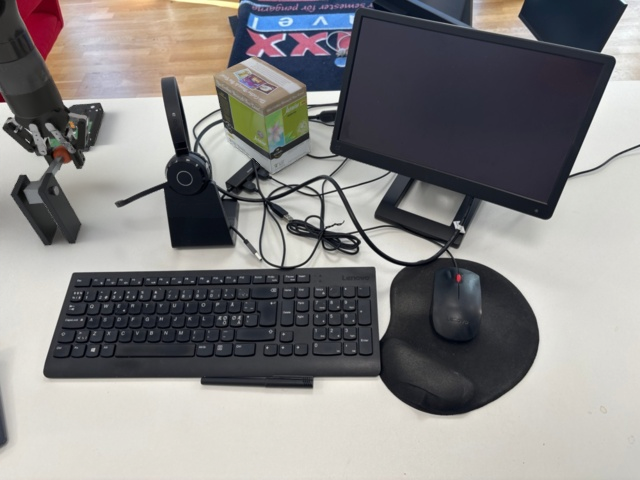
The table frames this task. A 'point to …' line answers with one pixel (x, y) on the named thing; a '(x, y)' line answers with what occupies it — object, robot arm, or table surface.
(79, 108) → the disk drive
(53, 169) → the lever
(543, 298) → the table surface
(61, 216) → the bracket
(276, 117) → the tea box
